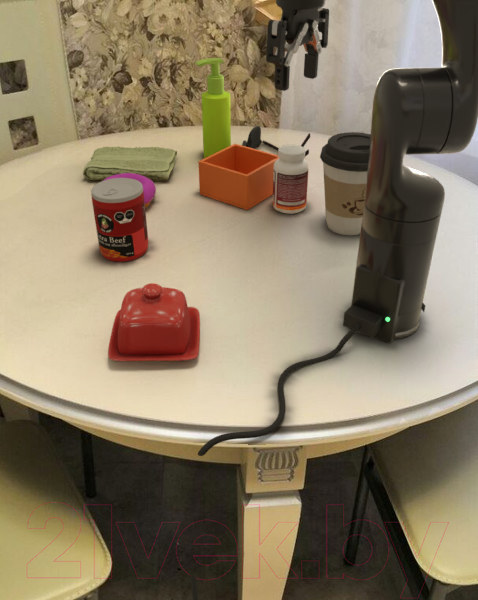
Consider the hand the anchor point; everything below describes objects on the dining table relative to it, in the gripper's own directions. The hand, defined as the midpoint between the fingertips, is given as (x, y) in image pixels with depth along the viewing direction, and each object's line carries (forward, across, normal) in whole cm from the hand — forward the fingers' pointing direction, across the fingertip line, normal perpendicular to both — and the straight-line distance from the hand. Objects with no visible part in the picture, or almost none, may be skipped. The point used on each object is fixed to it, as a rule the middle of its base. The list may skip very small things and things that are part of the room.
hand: (296, 83), depth 100 cm
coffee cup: (+22, 0, -12) cm, 25 cm away
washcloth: (+22, -5, +35) cm, 42 cm away
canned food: (+22, -29, +13) cm, 39 cm away
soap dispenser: (+22, +11, +26) cm, 36 cm away
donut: (+22, -16, +25) cm, 37 cm away
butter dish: (+22, -43, -7) cm, 49 cm away
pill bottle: (+22, 0, 0) cm, 22 cm away
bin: (+22, 0, +11) cm, 25 cm away
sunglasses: (+22, +17, +14) cm, 31 cm away
